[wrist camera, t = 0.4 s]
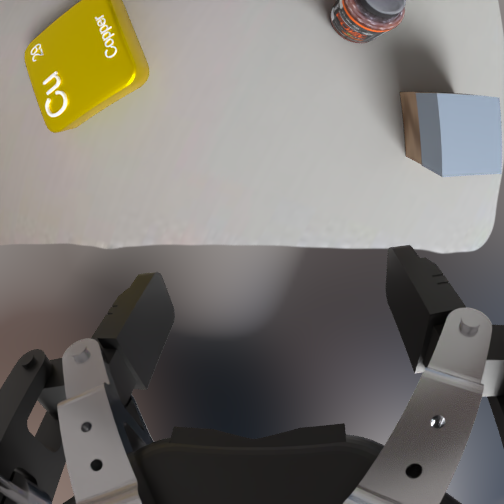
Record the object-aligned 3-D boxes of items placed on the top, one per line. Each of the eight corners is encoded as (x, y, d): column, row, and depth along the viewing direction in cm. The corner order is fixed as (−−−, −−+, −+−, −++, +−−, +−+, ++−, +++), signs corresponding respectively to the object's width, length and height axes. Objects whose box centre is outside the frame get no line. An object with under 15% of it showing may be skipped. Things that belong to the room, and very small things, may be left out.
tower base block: (399, 92, 30) (415, 91, 26) (453, 93, 29) (474, 94, 24) (405, 156, 34) (421, 164, 29) (457, 153, 32) (477, 162, 28)
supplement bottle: (320, 27, 27) (337, -2, 17) (342, -8, 25) (365, -46, 15) (366, 53, 28) (401, 36, 18) (387, 18, 26) (425, -8, 16)
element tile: (155, 79, 32) (139, 78, 28) (68, 133, 36) (47, 139, 31) (119, -9, 26) (101, -18, 22) (39, 51, 30) (18, 50, 25)
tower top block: (415, 92, 26) (436, 93, 21) (474, 95, 24) (499, 97, 20) (421, 165, 29) (442, 177, 25) (477, 162, 28) (501, 173, 23)
